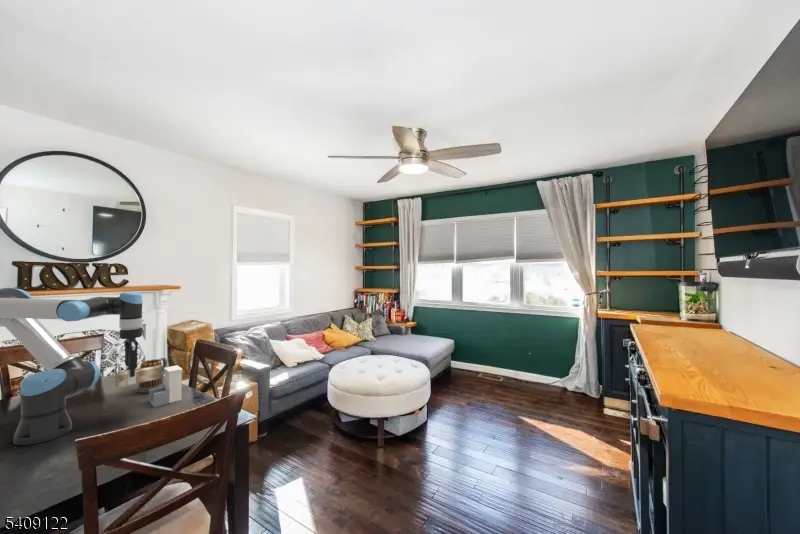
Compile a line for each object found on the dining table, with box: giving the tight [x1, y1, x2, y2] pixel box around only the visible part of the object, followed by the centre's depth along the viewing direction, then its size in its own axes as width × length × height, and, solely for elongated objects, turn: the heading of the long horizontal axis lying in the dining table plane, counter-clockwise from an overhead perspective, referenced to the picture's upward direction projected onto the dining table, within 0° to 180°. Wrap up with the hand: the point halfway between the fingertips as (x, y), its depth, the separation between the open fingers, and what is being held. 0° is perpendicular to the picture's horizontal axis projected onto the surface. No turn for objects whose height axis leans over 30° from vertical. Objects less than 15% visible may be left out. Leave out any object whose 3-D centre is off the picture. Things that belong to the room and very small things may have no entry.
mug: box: [137, 357, 168, 395], centre depth 172 cm, size 16×11×15 cm
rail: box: [114, 364, 165, 389], centre depth 143 cm, size 16×4×5 cm, turn 138°
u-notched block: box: [148, 365, 184, 408], centre depth 157 cm, size 11×9×15 cm
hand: (130, 382), depth 141 cm, fingers closed on rail, 4 cm apart
